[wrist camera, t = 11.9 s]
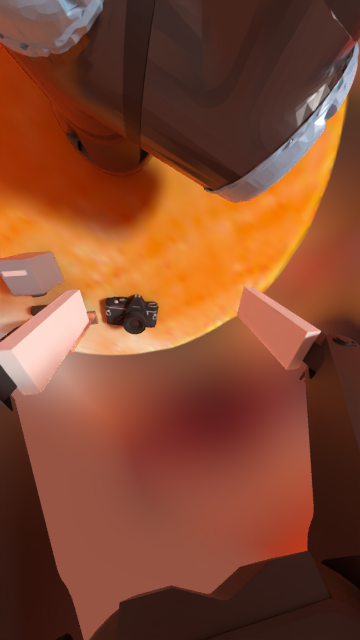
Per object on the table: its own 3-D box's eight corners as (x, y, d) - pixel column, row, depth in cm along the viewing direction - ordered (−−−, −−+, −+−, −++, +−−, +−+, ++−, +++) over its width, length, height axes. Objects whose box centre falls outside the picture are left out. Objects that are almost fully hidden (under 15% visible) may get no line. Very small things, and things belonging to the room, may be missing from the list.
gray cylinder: (40, 313, 39) (34, 318, 37) (35, 304, 37) (28, 309, 35) (83, 309, 40) (79, 314, 38) (79, 301, 38) (75, 305, 36)
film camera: (97, 334, 38) (101, 305, 31) (105, 312, 43) (110, 283, 37) (151, 344, 43) (164, 320, 36) (152, 323, 48) (164, 299, 41)
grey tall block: (25, 252, 32) (-12, 261, 25) (52, 251, 32) (22, 260, 25) (42, 286, 36) (14, 302, 28) (66, 284, 36) (44, 300, 29)
